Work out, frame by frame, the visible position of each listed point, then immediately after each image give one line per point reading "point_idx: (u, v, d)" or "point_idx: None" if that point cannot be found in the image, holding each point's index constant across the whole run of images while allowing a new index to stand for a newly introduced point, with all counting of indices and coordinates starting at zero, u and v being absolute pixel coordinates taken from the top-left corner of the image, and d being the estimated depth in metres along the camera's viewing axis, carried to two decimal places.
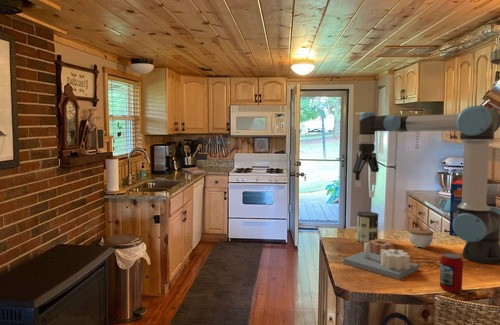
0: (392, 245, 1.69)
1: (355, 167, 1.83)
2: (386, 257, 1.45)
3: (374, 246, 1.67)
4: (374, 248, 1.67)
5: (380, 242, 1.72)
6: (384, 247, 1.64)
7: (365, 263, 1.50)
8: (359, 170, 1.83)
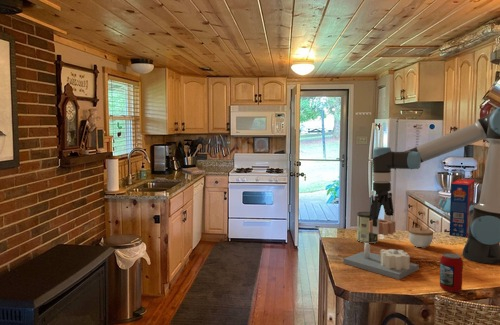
0: (394, 223, 1.68)
1: (371, 212, 1.64)
2: (386, 257, 1.45)
3: None
4: None
5: (382, 221, 1.71)
6: (386, 225, 1.63)
7: (365, 263, 1.50)
8: (376, 215, 1.64)
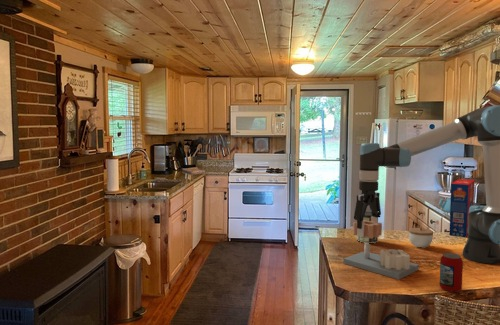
0: (380, 226, 1.55)
1: (356, 213, 1.51)
2: (386, 257, 1.45)
3: None
4: None
5: (367, 223, 1.58)
6: (371, 227, 1.51)
7: (365, 263, 1.50)
8: (361, 217, 1.51)
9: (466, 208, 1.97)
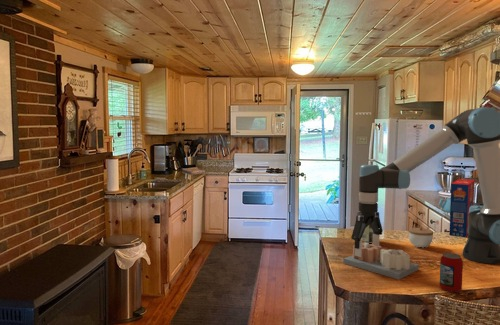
0: (380, 249, 1.56)
1: (354, 233, 1.50)
2: (386, 257, 1.45)
3: None
4: None
5: None
6: (371, 251, 1.51)
7: (365, 263, 1.50)
8: (359, 237, 1.51)
9: (466, 208, 1.97)
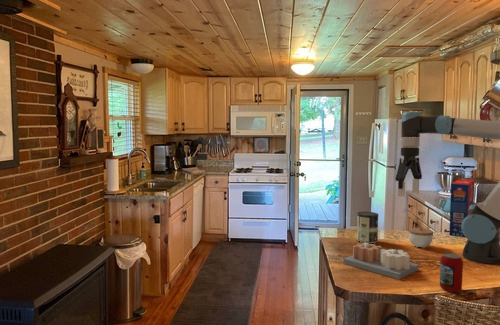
0: (380, 249, 1.56)
1: (398, 174, 1.62)
2: (386, 257, 1.45)
3: (360, 250, 1.54)
4: (360, 252, 1.54)
5: None
6: (371, 251, 1.51)
7: (365, 263, 1.50)
8: (403, 177, 1.62)
9: (466, 208, 1.97)
